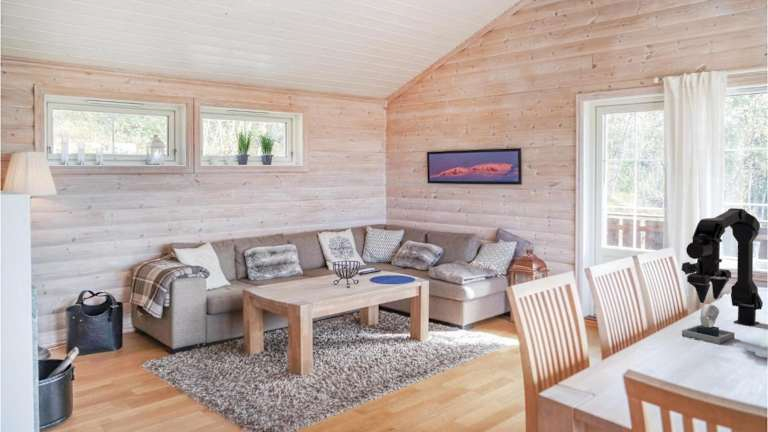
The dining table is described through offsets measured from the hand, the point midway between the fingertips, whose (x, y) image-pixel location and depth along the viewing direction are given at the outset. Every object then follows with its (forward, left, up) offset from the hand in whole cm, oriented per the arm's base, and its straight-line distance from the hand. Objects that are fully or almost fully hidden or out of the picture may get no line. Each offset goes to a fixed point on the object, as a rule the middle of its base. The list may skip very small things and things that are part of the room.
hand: (708, 300), depth 207 cm
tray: (0, 0, -13) cm, 13 cm away
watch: (0, 0, -13) cm, 13 cm away
